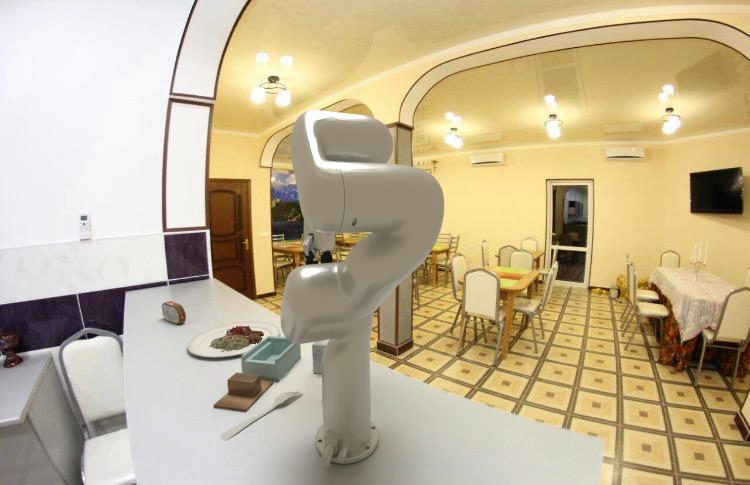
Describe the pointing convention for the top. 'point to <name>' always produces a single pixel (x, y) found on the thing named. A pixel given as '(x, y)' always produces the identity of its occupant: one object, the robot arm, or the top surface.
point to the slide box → (271, 358)
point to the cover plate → (243, 392)
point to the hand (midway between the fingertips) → (320, 272)
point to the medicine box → (318, 354)
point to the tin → (173, 312)
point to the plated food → (230, 339)
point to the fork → (236, 429)
